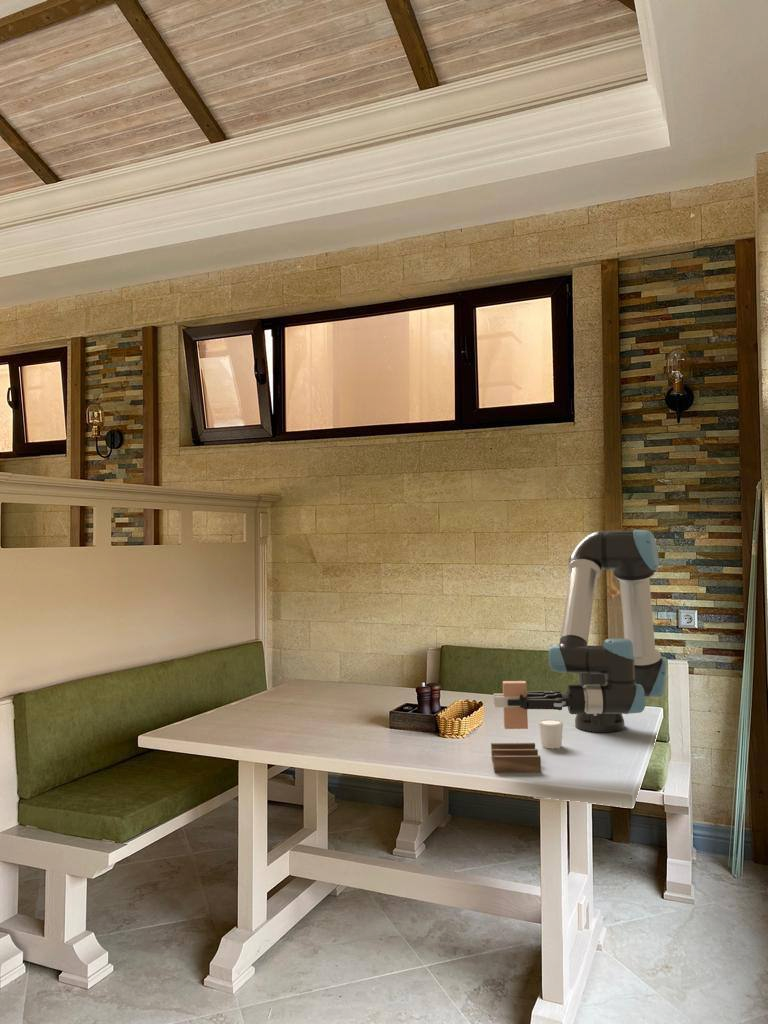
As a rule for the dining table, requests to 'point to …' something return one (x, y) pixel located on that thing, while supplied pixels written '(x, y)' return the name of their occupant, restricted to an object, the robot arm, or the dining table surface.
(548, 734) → the white cup
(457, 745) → the dining table surface
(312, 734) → the dining table surface
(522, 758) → the rack
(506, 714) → the tile
